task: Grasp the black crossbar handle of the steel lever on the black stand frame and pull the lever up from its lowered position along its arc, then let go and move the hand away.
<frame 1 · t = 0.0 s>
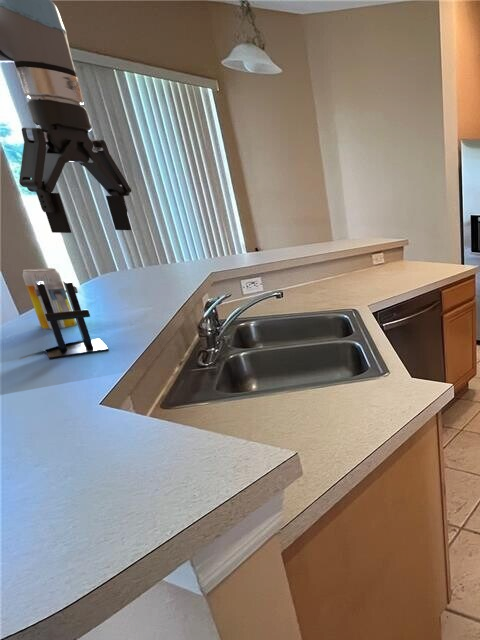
hand: (95, 231, 85), 25 cm above the worktop, tool pointing down, fingers open, 13 cm apart
black stand frame: (77, 352, 94), on the worktop
lever: (61, 302, 87), point 11 cm above the worktop, hinge at -20.0°
yellow pill bottle: (61, 333, 108), on the worktop
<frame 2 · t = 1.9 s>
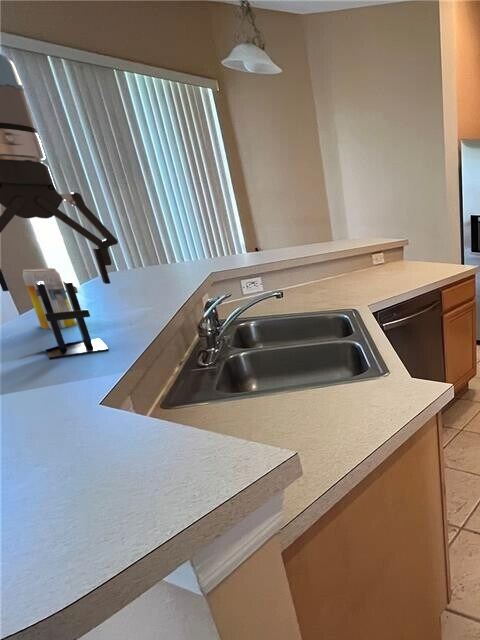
hand: (59, 286, 83), 15 cm above the worktop, tool pointing down, fingers open, 13 cm apart
nothing on the worktop moved.
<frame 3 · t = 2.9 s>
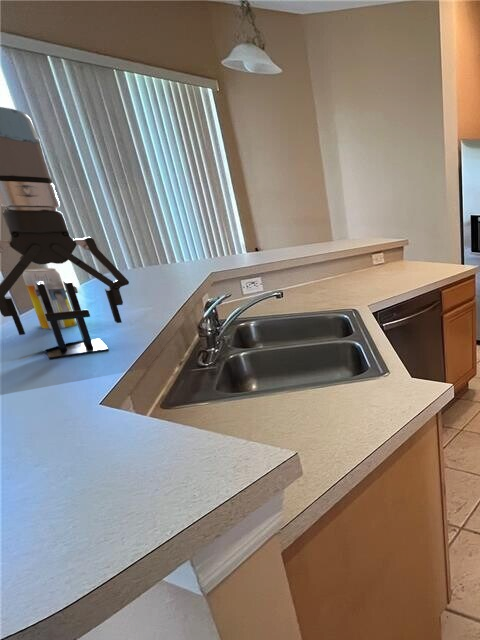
hand: (72, 327, 85), 7 cm above the worktop, tool pointing down, fingers open, 13 cm apart
nothing on the worktop moved.
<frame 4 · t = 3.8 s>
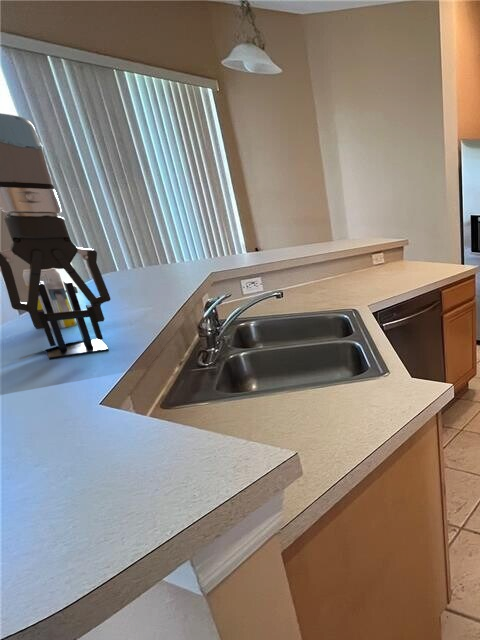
hand: (76, 341, 86), 4 cm above the worktop, tool pointing down, fingers closed on lever, 6 cm apart
lever: (61, 302, 87), point 11 cm above the worktop, hinge at -20.0°, touching gripper
everything else where it was.
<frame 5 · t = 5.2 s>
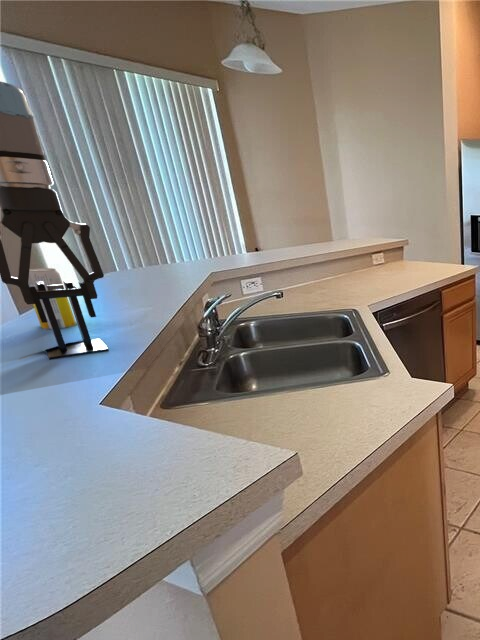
hand: (69, 318, 84), 9 cm above the worktop, tool pointing down, fingers closed on lever, 6 cm apart
lever: (58, 292, 86), point 13 cm above the worktop, hinge at 4.6°, touching gripper
everything else where it was.
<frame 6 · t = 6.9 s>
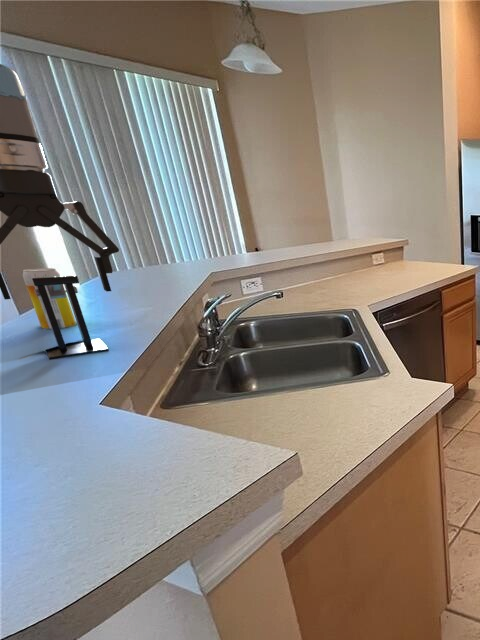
hand: (60, 294, 83), 14 cm above the worktop, tool pointing down, fingers open, 13 cm apart
lever: (56, 286, 86), point 14 cm above the worktop, hinge at 18.1°
everything else where it was.
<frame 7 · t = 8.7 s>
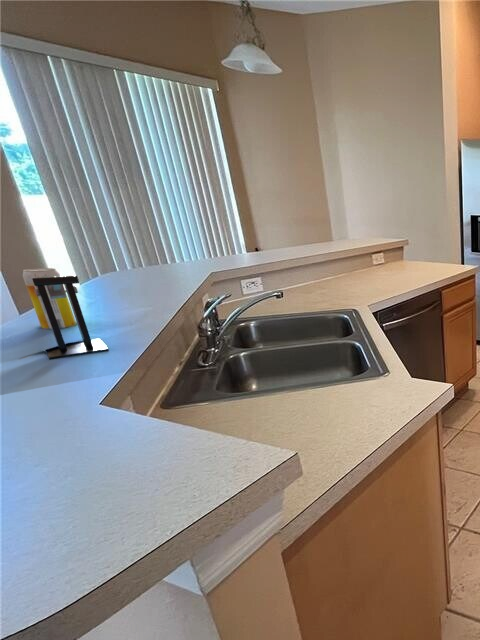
nothing on the worktop moved.
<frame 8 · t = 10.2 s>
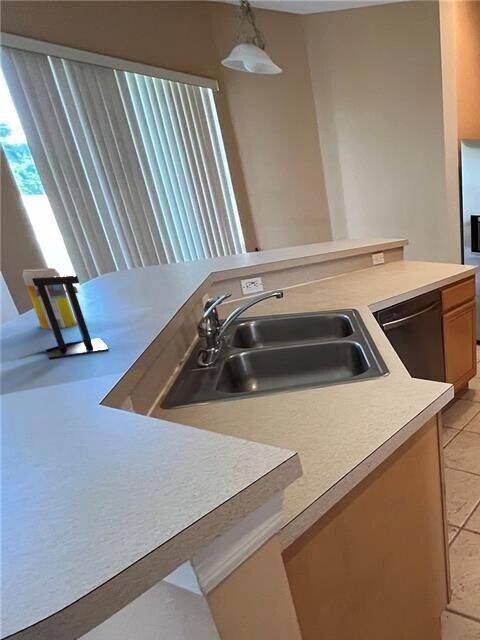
nothing on the worktop moved.
at the end: lever at +18° (first picture: -20°); yellow pill bottle moved 0.2 cm from its start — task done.
